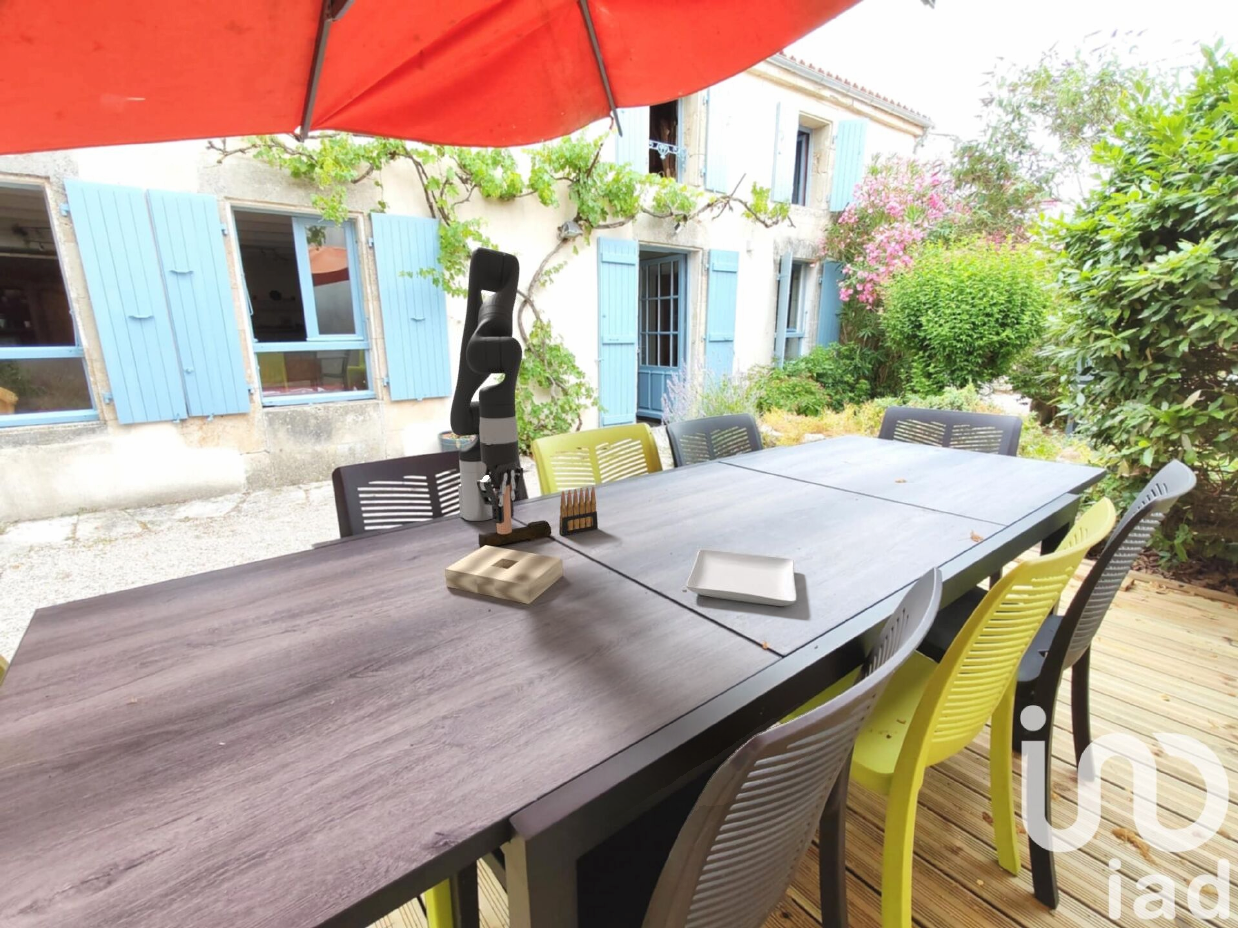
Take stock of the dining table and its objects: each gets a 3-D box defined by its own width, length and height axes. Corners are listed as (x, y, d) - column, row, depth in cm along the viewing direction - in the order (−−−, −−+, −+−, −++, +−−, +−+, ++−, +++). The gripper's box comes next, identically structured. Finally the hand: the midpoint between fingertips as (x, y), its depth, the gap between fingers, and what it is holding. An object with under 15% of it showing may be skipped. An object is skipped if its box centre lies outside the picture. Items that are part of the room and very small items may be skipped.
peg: (494, 532, 114) (491, 486, 111) (502, 528, 116) (500, 483, 114) (506, 534, 112) (504, 488, 110) (514, 530, 115) (512, 484, 113)
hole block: (446, 586, 114) (445, 568, 113) (486, 561, 127) (485, 545, 126) (528, 604, 107) (528, 585, 106) (562, 575, 120) (562, 558, 119)
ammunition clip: (594, 527, 150) (594, 484, 147) (598, 529, 148) (597, 486, 145) (559, 534, 144) (558, 490, 142) (562, 536, 143) (561, 492, 140)
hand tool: (482, 552, 133) (481, 534, 131) (477, 547, 136) (476, 529, 135) (554, 539, 141) (554, 522, 140) (549, 534, 145) (548, 518, 144)
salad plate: (792, 570, 123) (793, 556, 122) (795, 616, 103) (797, 599, 102) (698, 560, 129) (699, 546, 128) (684, 602, 109) (684, 586, 108)
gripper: (503, 431, 117) (507, 508, 121) (461, 443, 105) (467, 528, 109) (533, 434, 115) (536, 512, 119) (494, 446, 102) (499, 533, 106)
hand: (503, 519), depth 114 cm, fingers closed on peg, 3 cm apart
